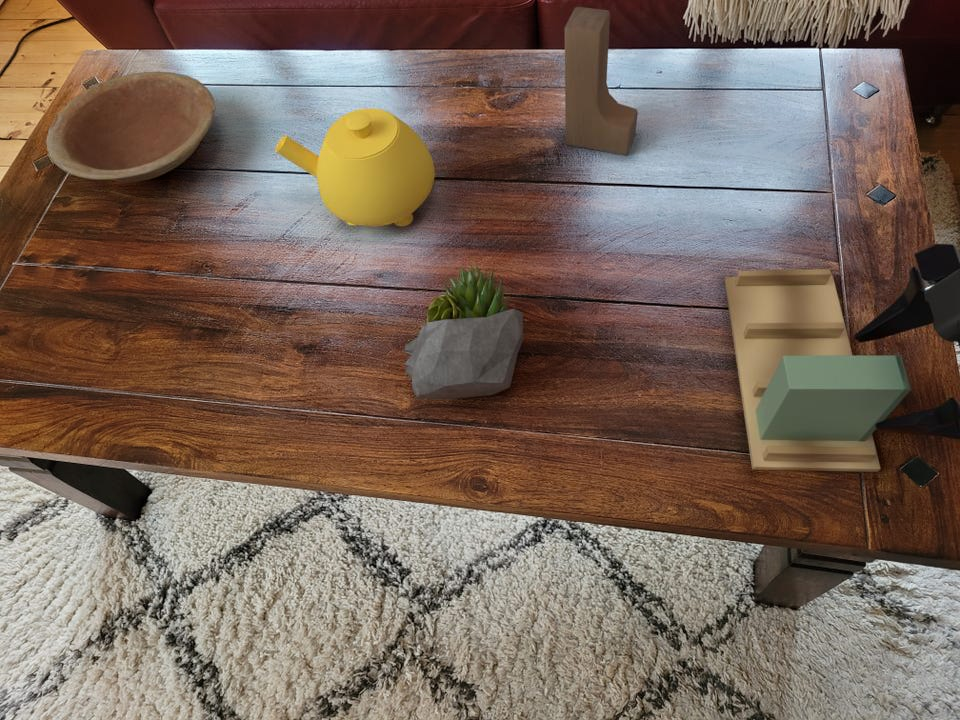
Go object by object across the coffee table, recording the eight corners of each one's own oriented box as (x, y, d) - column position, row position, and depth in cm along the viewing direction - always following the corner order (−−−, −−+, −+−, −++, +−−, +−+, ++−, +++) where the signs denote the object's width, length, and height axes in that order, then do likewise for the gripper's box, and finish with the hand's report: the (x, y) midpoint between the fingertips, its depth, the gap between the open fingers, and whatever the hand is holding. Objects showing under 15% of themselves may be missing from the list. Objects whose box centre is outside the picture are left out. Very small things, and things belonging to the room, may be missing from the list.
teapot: (286, 241, 93) (245, 164, 81) (314, 159, 101) (280, 79, 89) (429, 244, 90) (408, 165, 78) (447, 160, 97) (430, 76, 86)
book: (857, 409, 71) (901, 354, 61) (864, 441, 69) (911, 389, 59) (755, 409, 72) (783, 354, 63) (760, 440, 70) (789, 389, 61)
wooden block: (636, 134, 96) (648, 13, 81) (627, 156, 94) (638, 36, 79) (574, 124, 98) (574, 4, 83) (564, 145, 96) (563, 27, 81)
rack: (830, 279, 80) (838, 264, 78) (878, 472, 68) (889, 461, 66) (724, 280, 82) (729, 266, 79) (752, 469, 69) (758, 459, 67)
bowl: (213, 211, 97) (186, 169, 91) (58, 221, 100) (21, 181, 93) (245, 101, 110) (224, 57, 103) (106, 112, 112) (76, 70, 105)
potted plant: (387, 401, 74) (389, 272, 78) (483, 412, 82) (481, 294, 85) (447, 378, 65) (445, 233, 69) (550, 392, 72) (543, 260, 76)
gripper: (998, 169, 52) (802, 261, 63) (1089, 384, 43) (840, 449, 53) (1050, 237, 58) (862, 311, 69) (1140, 440, 48) (905, 489, 59)
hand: (866, 381), depth 62 cm, fingers open, 9 cm apart
